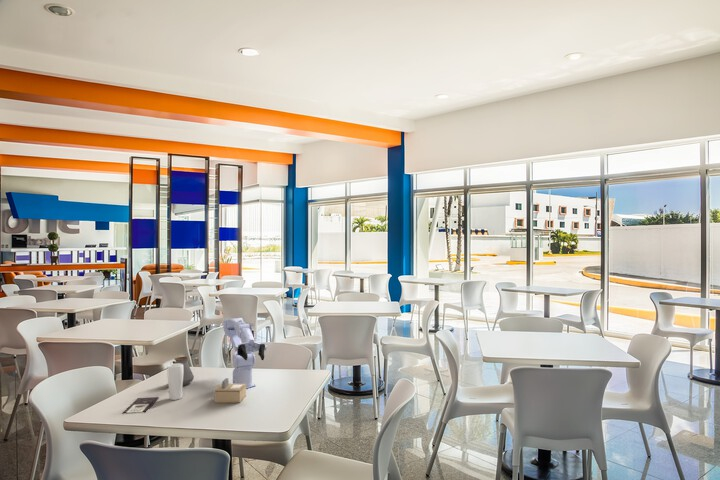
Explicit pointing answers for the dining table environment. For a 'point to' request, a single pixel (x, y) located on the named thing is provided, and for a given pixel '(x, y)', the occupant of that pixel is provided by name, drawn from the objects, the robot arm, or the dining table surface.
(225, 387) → the sliding lid
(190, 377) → the coffee pot
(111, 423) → the dining table surface
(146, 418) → the dining table surface
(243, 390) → the wooden box
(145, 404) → the chocolate bar
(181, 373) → the drinking glass
